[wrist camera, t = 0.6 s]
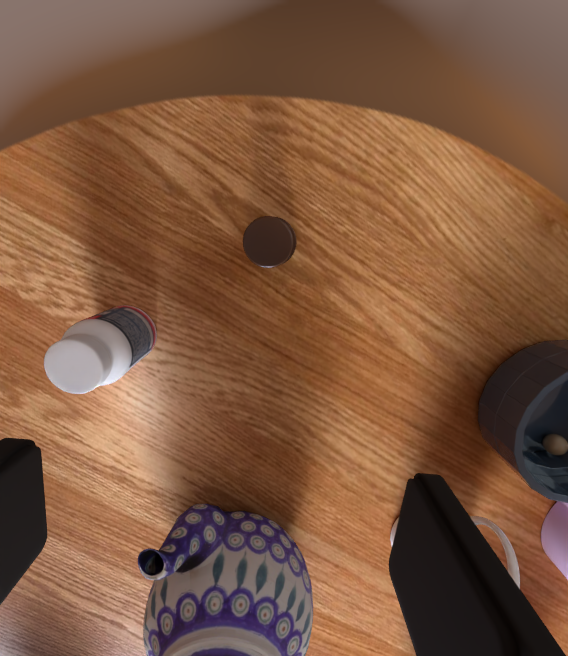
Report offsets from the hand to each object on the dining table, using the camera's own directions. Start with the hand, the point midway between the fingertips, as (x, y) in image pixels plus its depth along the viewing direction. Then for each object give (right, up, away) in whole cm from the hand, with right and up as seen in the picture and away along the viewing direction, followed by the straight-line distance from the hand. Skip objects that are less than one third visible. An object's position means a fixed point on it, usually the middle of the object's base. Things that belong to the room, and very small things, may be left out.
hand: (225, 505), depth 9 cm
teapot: (-4, -20, +29) cm, 35 cm away
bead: (+28, -7, +25) cm, 38 cm away
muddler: (+1, +12, +21) cm, 24 cm away
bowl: (+27, -3, +25) cm, 37 cm away
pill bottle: (-13, +4, +23) cm, 27 cm away
